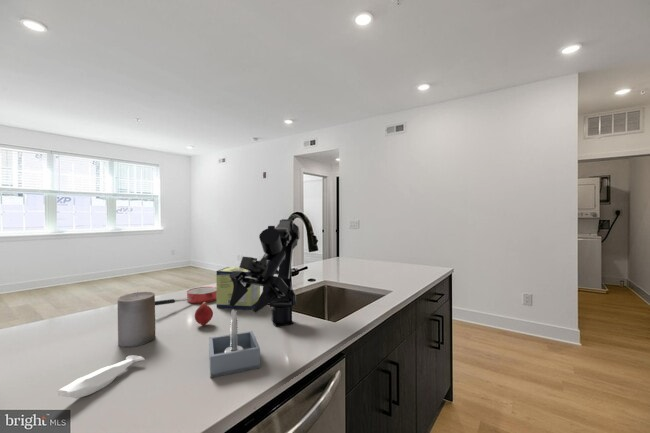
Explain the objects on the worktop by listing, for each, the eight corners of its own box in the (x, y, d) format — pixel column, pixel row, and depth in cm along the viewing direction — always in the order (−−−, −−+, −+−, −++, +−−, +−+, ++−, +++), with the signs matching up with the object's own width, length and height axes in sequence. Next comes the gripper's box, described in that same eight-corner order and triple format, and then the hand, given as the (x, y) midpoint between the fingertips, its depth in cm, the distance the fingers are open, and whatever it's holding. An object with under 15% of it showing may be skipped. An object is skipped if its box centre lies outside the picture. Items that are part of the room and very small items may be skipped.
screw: (243, 361, 74) (223, 364, 73) (243, 352, 79) (224, 355, 77) (243, 311, 74) (223, 312, 73) (243, 305, 79) (224, 306, 77)
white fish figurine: (50, 407, 57) (50, 387, 57) (127, 364, 75) (127, 349, 75) (73, 411, 56) (73, 390, 56) (145, 366, 74) (146, 350, 74)
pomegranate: (206, 329, 97) (206, 305, 97) (191, 327, 98) (191, 304, 98) (216, 323, 103) (216, 300, 103) (201, 321, 104) (201, 299, 104)
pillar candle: (150, 331, 95) (150, 286, 95) (159, 340, 88) (158, 291, 88) (114, 340, 88) (114, 291, 88) (121, 351, 81) (120, 298, 81)
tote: (252, 348, 83) (252, 330, 83) (259, 367, 72) (259, 348, 72) (209, 355, 79) (209, 337, 79) (210, 377, 68) (210, 356, 68)
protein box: (227, 300, 130) (227, 266, 130) (260, 302, 127) (260, 267, 127) (215, 308, 119) (215, 270, 119) (251, 310, 117) (251, 271, 117)
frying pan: (172, 320, 105) (172, 303, 105) (143, 317, 108) (143, 300, 108) (223, 296, 136) (223, 283, 136) (199, 294, 139) (199, 281, 139)
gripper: (234, 243, 87) (202, 287, 78) (281, 247, 78) (250, 298, 68) (253, 265, 94) (225, 308, 85) (299, 271, 84) (273, 321, 75)
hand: (242, 308), depth 78 cm, fingers open, 9 cm apart
